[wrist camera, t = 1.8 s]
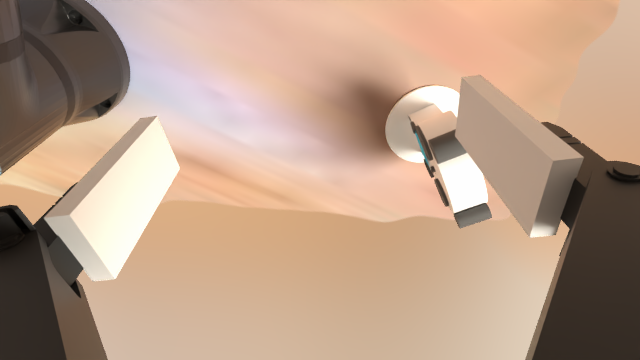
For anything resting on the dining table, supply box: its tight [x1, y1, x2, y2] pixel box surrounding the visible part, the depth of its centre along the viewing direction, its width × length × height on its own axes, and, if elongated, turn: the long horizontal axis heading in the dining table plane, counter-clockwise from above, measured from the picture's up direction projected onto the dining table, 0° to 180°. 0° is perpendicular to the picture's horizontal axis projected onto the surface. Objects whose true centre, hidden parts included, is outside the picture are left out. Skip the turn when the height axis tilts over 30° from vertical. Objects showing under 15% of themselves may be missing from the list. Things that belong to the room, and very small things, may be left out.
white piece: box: [385, 85, 492, 228], centre depth 41 cm, size 12×11×15 cm
